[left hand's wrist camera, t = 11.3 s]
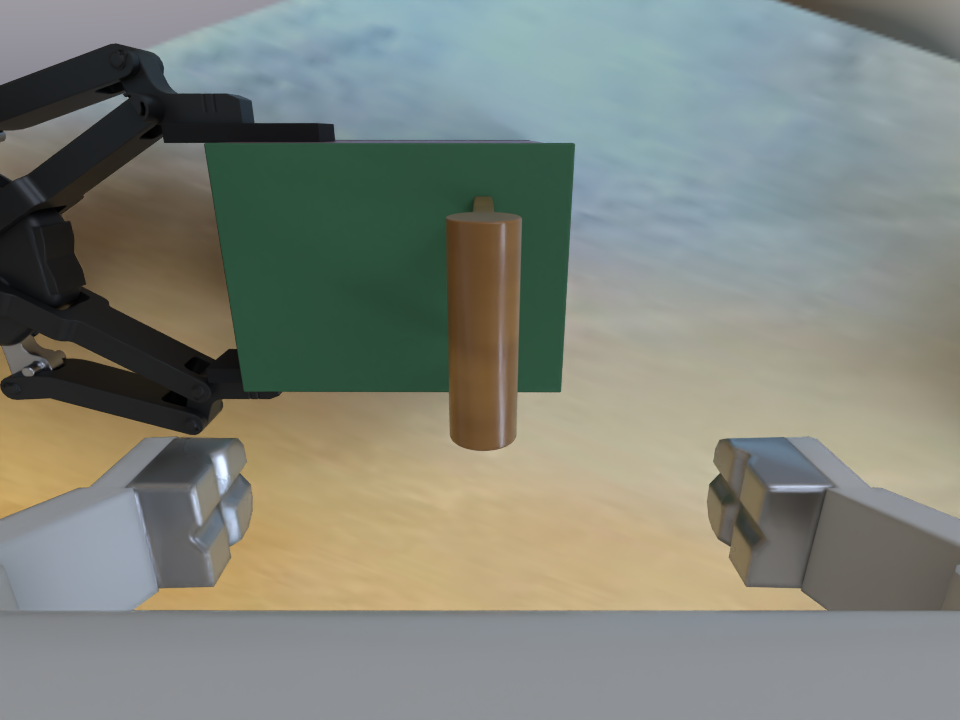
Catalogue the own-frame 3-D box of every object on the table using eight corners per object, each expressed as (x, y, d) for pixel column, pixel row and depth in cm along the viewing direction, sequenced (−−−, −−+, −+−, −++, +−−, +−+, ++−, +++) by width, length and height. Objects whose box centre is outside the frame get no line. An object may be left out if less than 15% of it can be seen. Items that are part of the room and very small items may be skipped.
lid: (571, 143, 23) (624, 148, 14) (558, 384, 26) (594, 502, 18) (214, 142, 23) (55, 148, 14) (251, 383, 26) (143, 500, 18)
